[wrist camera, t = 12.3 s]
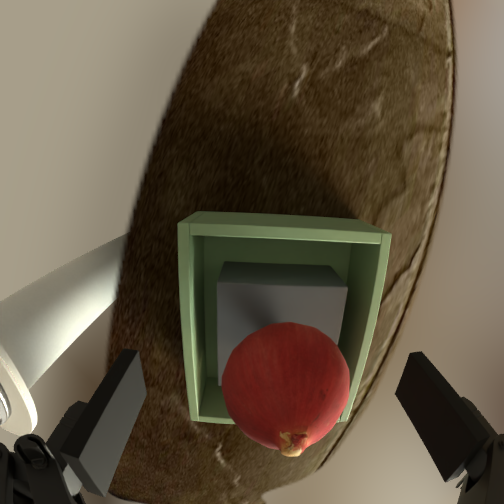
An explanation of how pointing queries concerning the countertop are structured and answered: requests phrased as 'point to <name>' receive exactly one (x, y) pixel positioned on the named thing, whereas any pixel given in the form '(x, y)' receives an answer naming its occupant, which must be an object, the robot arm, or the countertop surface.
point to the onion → (286, 386)
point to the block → (275, 301)
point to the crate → (282, 252)
